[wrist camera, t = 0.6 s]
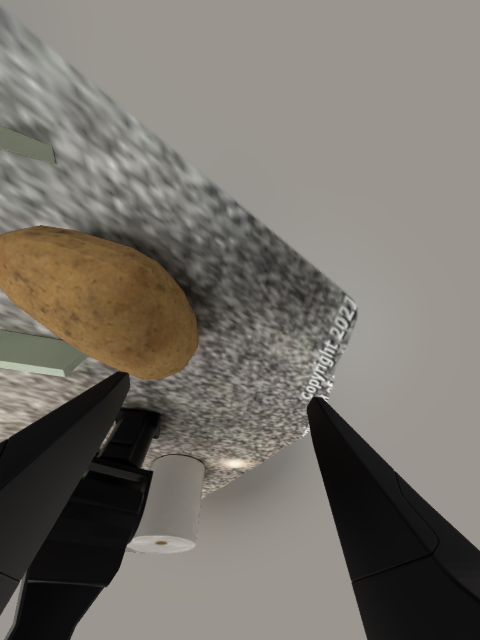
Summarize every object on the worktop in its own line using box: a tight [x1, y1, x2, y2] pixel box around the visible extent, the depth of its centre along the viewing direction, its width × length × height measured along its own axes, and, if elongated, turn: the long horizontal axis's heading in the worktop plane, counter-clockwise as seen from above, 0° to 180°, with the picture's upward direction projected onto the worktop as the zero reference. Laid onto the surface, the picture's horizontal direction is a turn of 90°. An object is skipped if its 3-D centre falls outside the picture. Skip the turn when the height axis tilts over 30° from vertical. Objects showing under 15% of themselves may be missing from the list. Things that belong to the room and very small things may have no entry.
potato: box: [0, 225, 199, 380], centre depth 14 cm, size 10×14×8 cm
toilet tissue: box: [125, 455, 205, 553], centre depth 32 cm, size 11×12×10 cm
